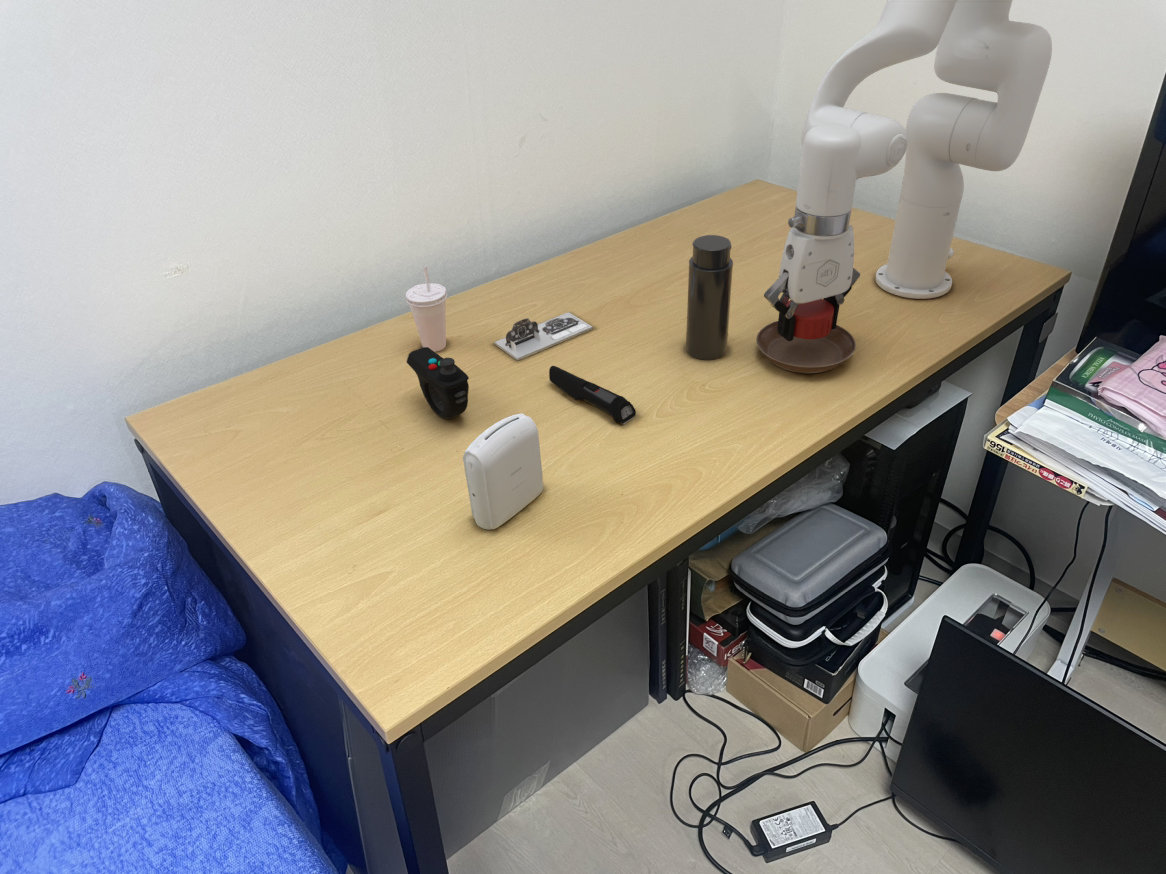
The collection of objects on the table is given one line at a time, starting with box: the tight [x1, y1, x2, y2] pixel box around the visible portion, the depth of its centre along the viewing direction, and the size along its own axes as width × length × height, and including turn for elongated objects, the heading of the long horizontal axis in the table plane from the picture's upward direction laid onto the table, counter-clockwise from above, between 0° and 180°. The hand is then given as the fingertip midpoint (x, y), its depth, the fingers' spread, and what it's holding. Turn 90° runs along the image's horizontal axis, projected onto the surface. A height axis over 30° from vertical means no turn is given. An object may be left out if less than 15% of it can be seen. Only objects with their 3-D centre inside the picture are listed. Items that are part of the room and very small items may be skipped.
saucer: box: [755, 320, 857, 374], centre depth 134 cm, size 15×15×3 cm
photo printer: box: [462, 412, 544, 531], centre depth 105 cm, size 10×4×12 cm, turn 140°
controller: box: [406, 346, 470, 420], centre depth 123 cm, size 4×12×10 cm, turn 38°
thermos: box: [685, 234, 734, 361], centre depth 132 cm, size 6×6×18 cm
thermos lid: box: [786, 299, 834, 339], centre depth 130 cm, size 7×7×4 cm
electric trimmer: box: [548, 365, 637, 426], centre depth 126 cm, size 4×16×3 cm, turn 45°
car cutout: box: [493, 312, 594, 362], centre depth 141 cm, size 15×7×4 cm, turn 128°
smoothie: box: [405, 265, 448, 353], centre depth 137 cm, size 6×6×14 cm
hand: (806, 330), depth 132 cm, fingers closed on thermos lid, 7 cm apart
